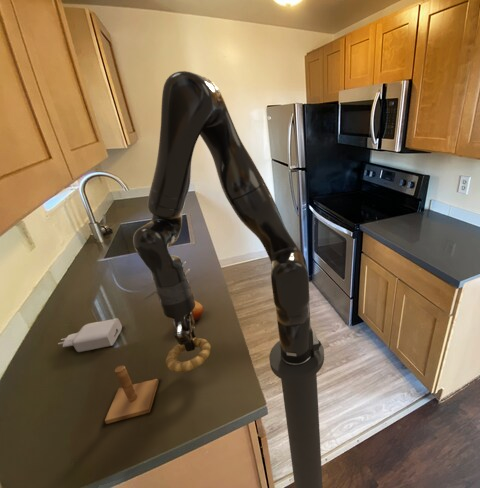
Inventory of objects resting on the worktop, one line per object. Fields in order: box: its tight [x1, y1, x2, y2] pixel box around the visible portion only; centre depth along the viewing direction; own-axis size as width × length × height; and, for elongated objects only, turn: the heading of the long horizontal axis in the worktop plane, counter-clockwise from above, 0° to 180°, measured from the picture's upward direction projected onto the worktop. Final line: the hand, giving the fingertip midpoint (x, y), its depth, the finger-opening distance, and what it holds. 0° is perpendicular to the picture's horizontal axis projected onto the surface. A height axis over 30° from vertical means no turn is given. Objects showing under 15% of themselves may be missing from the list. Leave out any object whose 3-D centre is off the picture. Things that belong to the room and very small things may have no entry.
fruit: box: [193, 300, 204, 321], centre depth 96 cm, size 8×8×8 cm
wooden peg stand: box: [104, 364, 159, 425], centre depth 66 cm, size 9×9×11 cm
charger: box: [57, 317, 123, 353], centre depth 87 cm, size 5×9×15 cm
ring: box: [165, 337, 212, 373], centre depth 74 cm, size 11×11×2 cm
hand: (191, 345), depth 78 cm, fingers closed on ring, 2 cm apart
